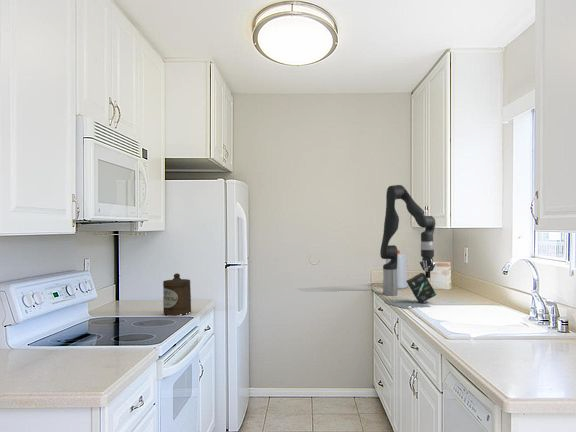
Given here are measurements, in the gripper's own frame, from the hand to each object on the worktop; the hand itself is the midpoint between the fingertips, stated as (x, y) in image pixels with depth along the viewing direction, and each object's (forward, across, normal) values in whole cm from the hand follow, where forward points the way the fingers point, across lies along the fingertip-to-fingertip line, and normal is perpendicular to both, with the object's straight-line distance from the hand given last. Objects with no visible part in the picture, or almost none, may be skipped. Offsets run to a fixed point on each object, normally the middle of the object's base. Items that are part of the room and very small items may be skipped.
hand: (427, 277), depth 278 cm
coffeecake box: (+15, -49, +45) cm, 68 cm away
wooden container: (+15, -26, -145) cm, 148 cm away
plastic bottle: (+15, -66, +20) cm, 70 cm away
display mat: (+15, 0, -15) cm, 21 cm away
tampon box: (+13, 0, 0) cm, 13 cm away
